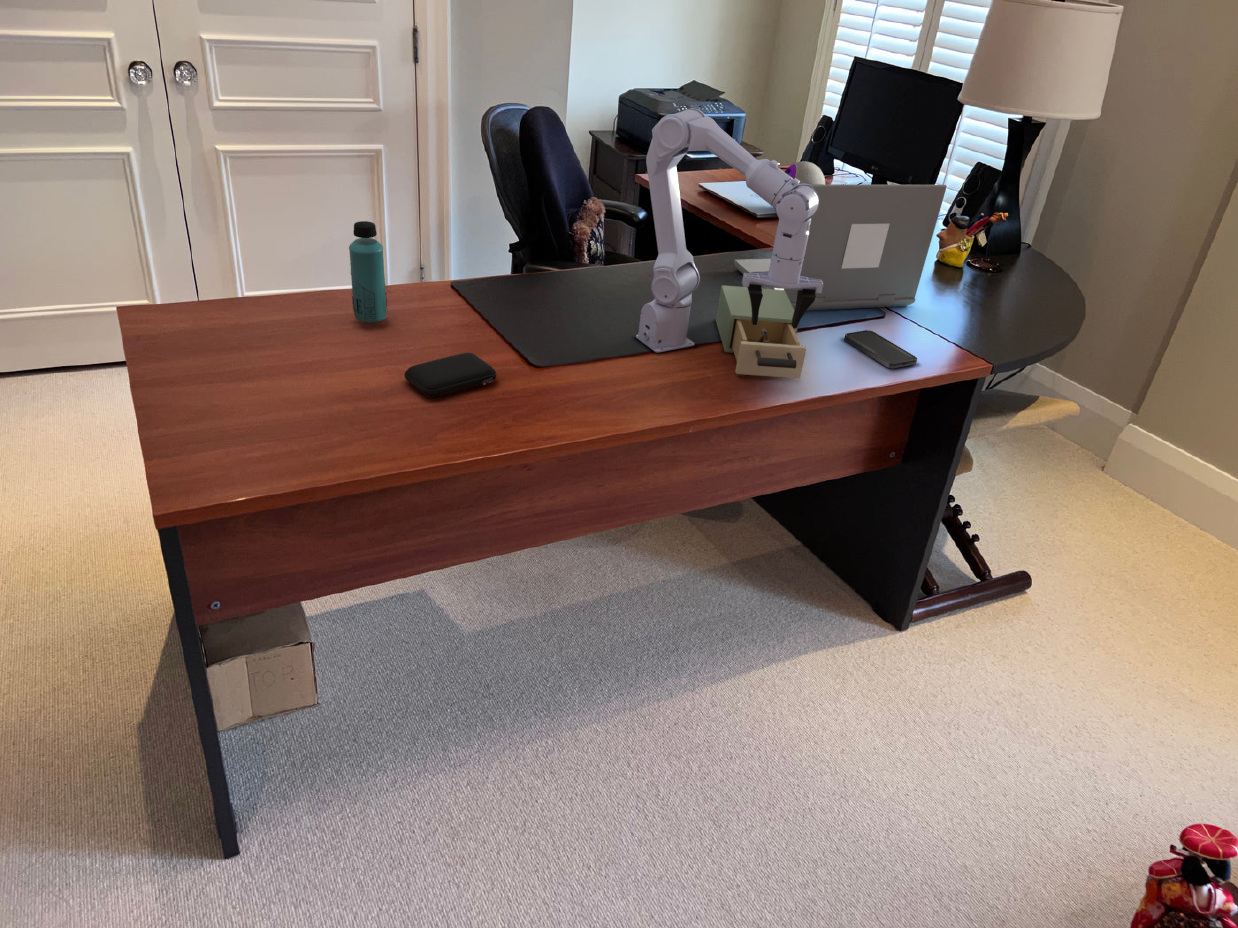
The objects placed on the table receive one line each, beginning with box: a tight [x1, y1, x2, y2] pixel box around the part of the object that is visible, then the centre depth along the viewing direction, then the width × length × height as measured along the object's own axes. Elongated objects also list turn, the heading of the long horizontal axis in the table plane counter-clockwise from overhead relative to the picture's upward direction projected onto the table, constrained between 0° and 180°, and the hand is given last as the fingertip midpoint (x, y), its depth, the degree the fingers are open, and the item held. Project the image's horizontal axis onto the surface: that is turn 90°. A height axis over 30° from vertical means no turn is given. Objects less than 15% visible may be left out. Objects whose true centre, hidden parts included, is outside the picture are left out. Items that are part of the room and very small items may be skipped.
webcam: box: [784, 160, 826, 184], centre depth 264 cm, size 13×13×15 cm
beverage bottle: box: [348, 220, 388, 323], centre depth 172 cm, size 6×7×20 cm
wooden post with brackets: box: [758, 329, 769, 343], centre depth 176 cm, size 2×8×4 cm, turn 9°
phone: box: [843, 329, 918, 370], centre depth 189 cm, size 8×1×15 cm
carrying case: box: [404, 352, 498, 399], centre depth 159 cm, size 11×3×15 cm
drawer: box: [731, 319, 807, 379], centre depth 175 cm, size 20×12×6 cm, turn 2°
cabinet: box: [715, 284, 799, 354], centre depth 187 cm, size 16×14×8 cm
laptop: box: [733, 183, 948, 311], centre depth 210 cm, size 35×26×28 cm
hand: (774, 324), depth 170 cm, fingers open, 7 cm apart
